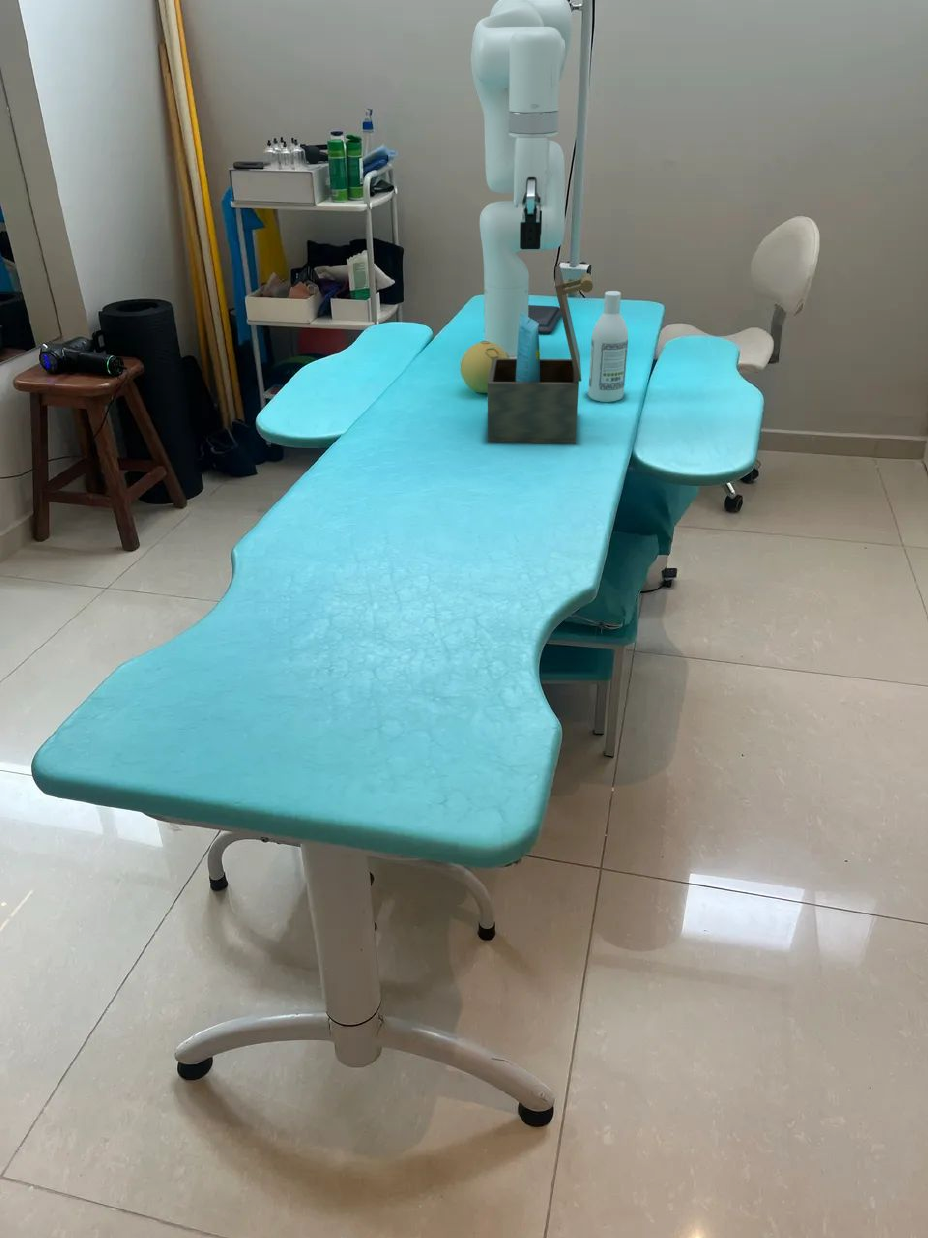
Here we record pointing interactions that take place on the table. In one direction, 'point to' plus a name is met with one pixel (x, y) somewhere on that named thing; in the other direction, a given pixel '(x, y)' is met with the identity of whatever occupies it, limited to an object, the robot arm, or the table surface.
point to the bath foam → (608, 352)
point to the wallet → (544, 317)
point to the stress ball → (479, 364)
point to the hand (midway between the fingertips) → (531, 242)
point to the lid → (561, 292)
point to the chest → (532, 403)
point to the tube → (528, 351)
